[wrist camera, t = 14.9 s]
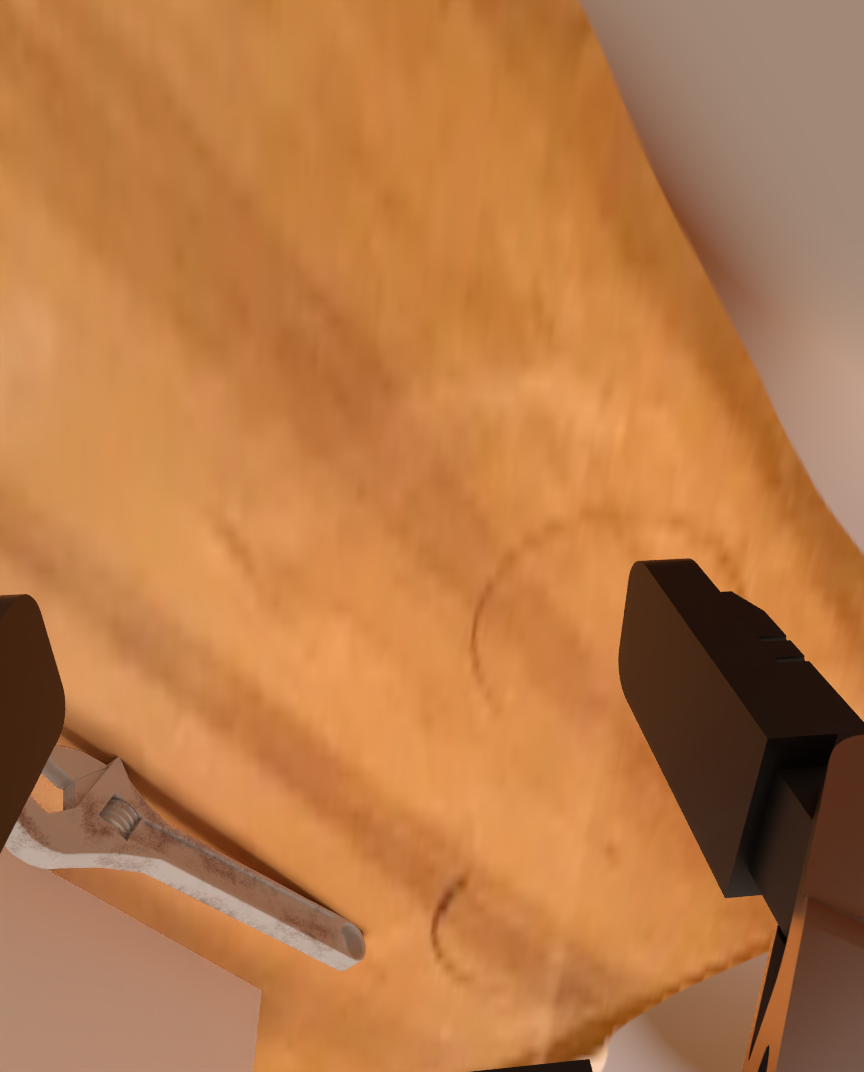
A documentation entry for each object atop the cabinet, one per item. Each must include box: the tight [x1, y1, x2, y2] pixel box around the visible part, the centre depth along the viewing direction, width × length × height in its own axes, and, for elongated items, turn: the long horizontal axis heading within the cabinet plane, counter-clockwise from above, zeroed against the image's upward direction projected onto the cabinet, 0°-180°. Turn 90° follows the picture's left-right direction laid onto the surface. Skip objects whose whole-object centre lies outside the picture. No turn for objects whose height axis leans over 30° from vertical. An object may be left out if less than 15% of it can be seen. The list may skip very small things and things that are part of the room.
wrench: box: [5, 745, 365, 971], centre depth 48 cm, size 8×2×30 cm
